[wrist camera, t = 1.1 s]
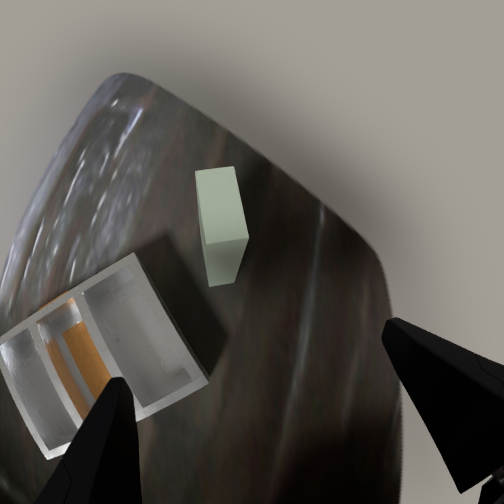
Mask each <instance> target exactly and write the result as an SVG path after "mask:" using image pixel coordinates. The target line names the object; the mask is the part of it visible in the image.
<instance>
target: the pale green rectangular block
mask: <svg viewBox="0 0 504 504" xmlns="http://www.w3.org/2000/svg"><path fill="white" fill-rule="evenodd" d="M195 175H196V188H197V200H198V211H199V222H200V232H201V241H202V247H203V254H204V260H205V266H206V272H207V277H208V283H209V287H211V286H217V285H223V284H229V283H234V282H235V279H236V276H237V273H238V270H239V266H240V263H241V260H242V257H243V254H244V251H245V248H246V245H247V242H248V239H249V235H248V231H247V226H246V221H245V217H244V212H243V207H242V203H241V198H240V193H239V189H238V184H237V179H236V175H235V170H234V166H233V167H224V168H216V169H208V170H200V171H195Z"/></svg>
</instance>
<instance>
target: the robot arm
mask: <svg viewBox="0 0 504 504" xmlns="http://www.w3.org/2000/svg"><path fill="white" fill-rule="evenodd" d="M382 343H383V345H384V347H385V349H386V351H387V354H388V356H389V358H390V360H391V362H392V365H393V367H394V369H395V371H396V373H397V375H398V377H399V379H400V381H401V382H402V384H403V386H404V387H405V389H406V391H407V392H408V394H409V396H410V398H411V400H412V401H413V403H414V405H415V407H416V409H417V410H418V412H419V414H420V416H421V418H422V420H423V421H424V423H425V425H426V427H427V429H428V431H429V433H430V434H431V436H432V438H433V440H434V442H435V444H436V446H437V448H438V450H439V452H440V454H441V456H442V458H443V460H444V462H445V464H446V466H447V468H448V470H449V472H450V474H451V476H452V478H453V480H454V482H455V485H456V487H457V489H458V491H459V493H460V494H462V493H463V492H465V491H467V490H468V489H470V488H472V487H473V486H475V485H476V484H478V483H479V482H481V481H482V480H484V479H485V478H487V477H488V476H490V475H491V474H492V477H491V478H490V479H489V480H488V481H487V482H486V483H485V484H484V485H483V486H482V489H481V494H480V498H479V502H478V504H504V365H502V364H499V363H497V362H494V361H492V360H489V359H487V358H485V357H482V356H480V355H478V354H474V352H471V351H469V350H467V349H465V348H463V347H461V346H458V345H456V344H454V343H452V342H450V341H448V340H445V339H443V338H441V337H439V336H437V335H435V334H432V333H430V332H428V331H426V330H424V329H421V328H419V327H417V326H415V325H413V324H411V323H409V322H406V321H404V320H402V319H400V318H397V317H395V318H392V319H389V320H387V321H386V323H385V326H384V330H383V333H382ZM62 458H63V459H61V460H60V462H59V463H58V465H57V467H56V469H55V470H54V472H53V474H52V475H51V477H50V479H49V480H48V482H47V483H46V484H45V486H44V487H43V489H42V490H41V492H40V493H39V494H38V496H37V497H36V499H35V500H34V501H33V503H32V504H142V495H141V483H140V466H139V440H138V430H137V423H136V415H135V406H134V397H133V393H132V391H131V389H130V387H129V385H128V384H127V382H126V380H125V379H124V378H123V377H112V378H110V380H109V381H108V383H107V384H106V386H105V387H104V389H103V391H102V392H101V394H100V395H99V397H98V398H97V400H96V402H95V403H94V405H93V406H92V408H91V410H90V411H89V413H88V415H87V416H86V418H85V419H84V421H83V423H82V424H81V426H80V428H79V429H78V431H77V433H76V434H75V436H74V438H73V439H72V441H71V443H70V445H69V446H68V448H67V450H66V451H65V453H64V455H63V457H62Z"/></svg>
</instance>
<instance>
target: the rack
mask: <svg viewBox="0 0 504 504" xmlns="http://www.w3.org/2000/svg"><path fill="white" fill-rule="evenodd" d="M0 368H1V371H2V373H3V376H4V378H5V381H6V383H7V386H8V388H9V390H10V392H11V395H12V397H13V399H14V401H15V403H16V405H17V407H18V409H19V411H20V413H21V415H22V417H23V419H24V421H25V423H26V425H27V427H28V429H29V430H30V432H31V434H32V436H33V437H34V439H35V441H36V443H37V444H38V446H39V448H40V449H41V451H42V452H43V454H44V456H45V457H46V459H47V460H48V459H51V458H54V457H56V456H59V455H62V454H64V453H65V451H66V450H67V448H68V446H69V445H70V443H71V441H72V439H73V438H74V436H75V434H76V433H77V431H78V429H79V428H80V426H81V424H82V423H83V421H84V419H85V418H86V416H87V415H88V413H89V411H90V410H91V408H92V406H93V405H94V403H95V402H96V400H97V398H98V397H99V395H100V394H101V392H102V391H103V389H104V387H105V386H106V384H107V383H108V381H109V380H110V378H112V377H123V378H124V379H125V380H126V382H127V384H128V385H129V387H130V389H131V391H132V393H133V397H134V406H135V415H136V422H137V421H139V420H141V419H143V418H145V417H147V416H149V415H151V414H153V413H155V412H157V411H159V410H161V409H163V408H165V407H167V406H169V405H171V404H172V403H174V402H176V401H178V400H180V399H182V398H184V397H185V396H187V395H189V394H191V393H193V392H194V391H196V390H198V389H200V388H201V387H203V386H205V385H207V384H208V383H209V380H210V376H209V375H208V373H207V371H206V370H205V368H204V367H203V365H202V364H201V362H200V361H199V359H198V357H197V356H196V354H195V353H194V351H193V350H192V348H191V346H190V345H189V343H188V341H187V340H186V338H185V336H184V335H183V333H182V331H181V330H180V328H179V326H178V325H177V323H176V321H175V320H174V318H173V316H172V314H171V313H170V311H169V309H168V307H167V306H166V304H165V302H164V300H163V298H162V297H161V295H160V293H159V291H158V289H157V287H156V285H155V284H154V282H153V280H152V278H151V276H150V274H149V272H148V270H147V268H146V266H145V265H144V264H143V263H142V262H141V260H140V259H139V258H138V257H137V255H136V254H135V253H134V252H133V253H131V254H130V255H128V256H126V257H124V258H123V259H121V260H119V261H118V262H116V263H114V264H112V265H111V266H109V267H107V268H106V269H104V270H102V271H101V272H99V273H97V274H96V275H94V276H92V277H91V278H89V279H88V280H86V281H84V282H83V283H81V284H79V285H78V286H76V287H75V288H73V289H71V290H70V291H69V290H68V291H66V292H65V293H63V294H62V295H60V296H58V297H57V298H55V299H54V300H52V301H51V302H49V303H48V304H46V305H45V306H43V307H42V308H40V309H39V310H38V311H37V312H36V313H34V314H33V315H31V316H30V317H29V318H27V319H26V320H24V321H23V322H21V323H20V324H18V325H17V326H15V327H14V328H13V329H11V330H10V331H8V332H7V333H5V334H4V335H3V336H1V337H0Z"/></svg>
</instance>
